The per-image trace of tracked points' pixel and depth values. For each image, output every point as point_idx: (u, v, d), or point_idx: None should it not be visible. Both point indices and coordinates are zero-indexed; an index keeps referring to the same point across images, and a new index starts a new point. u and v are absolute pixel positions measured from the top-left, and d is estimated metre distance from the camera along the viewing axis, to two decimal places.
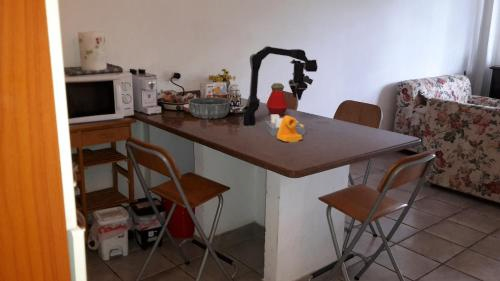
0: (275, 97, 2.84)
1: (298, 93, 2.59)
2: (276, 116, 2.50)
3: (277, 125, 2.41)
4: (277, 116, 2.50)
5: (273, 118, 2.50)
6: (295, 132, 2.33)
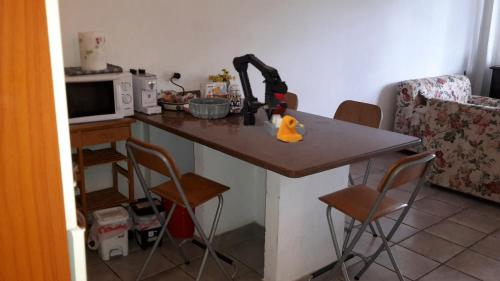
0: None
1: (266, 112, 2.51)
2: (277, 116, 2.50)
3: (277, 125, 2.41)
4: (278, 116, 2.50)
5: (274, 118, 2.50)
6: (295, 132, 2.33)
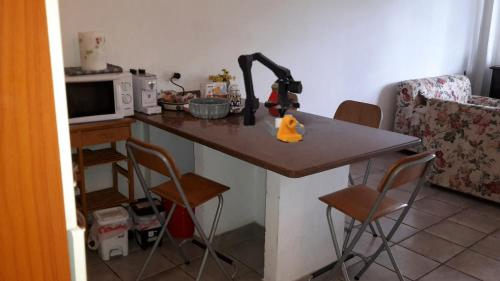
0: (275, 97, 2.84)
1: (278, 112, 2.52)
2: None
3: (277, 125, 2.41)
4: None
5: None
6: (295, 132, 2.33)
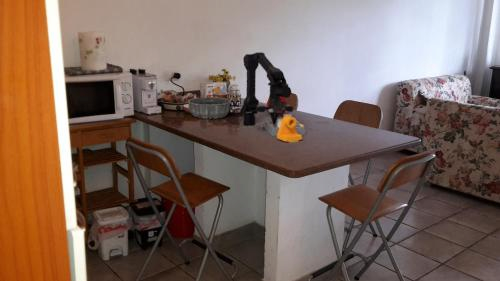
0: None
1: None
2: None
3: (279, 125, 2.41)
4: None
5: None
6: (295, 132, 2.33)
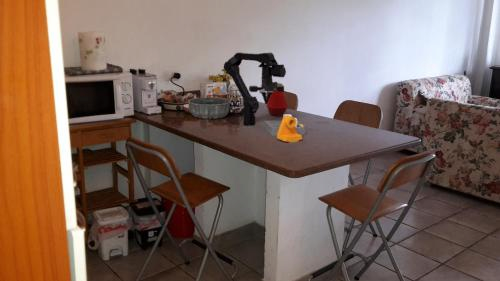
0: (275, 97, 2.84)
1: (263, 96, 2.55)
2: None
3: None
4: None
5: None
6: (295, 132, 2.33)
